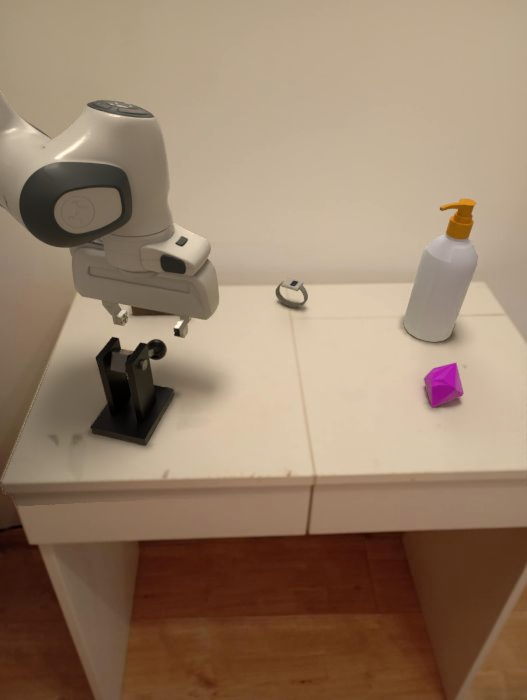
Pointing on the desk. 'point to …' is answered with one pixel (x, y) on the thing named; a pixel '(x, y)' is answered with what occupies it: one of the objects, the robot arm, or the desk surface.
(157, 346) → the ball knob lever
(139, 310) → the panel
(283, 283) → the wristwatch
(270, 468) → the desk surface
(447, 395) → the crystal
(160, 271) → the robot arm
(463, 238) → the soap bottle
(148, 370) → the black lever stand
